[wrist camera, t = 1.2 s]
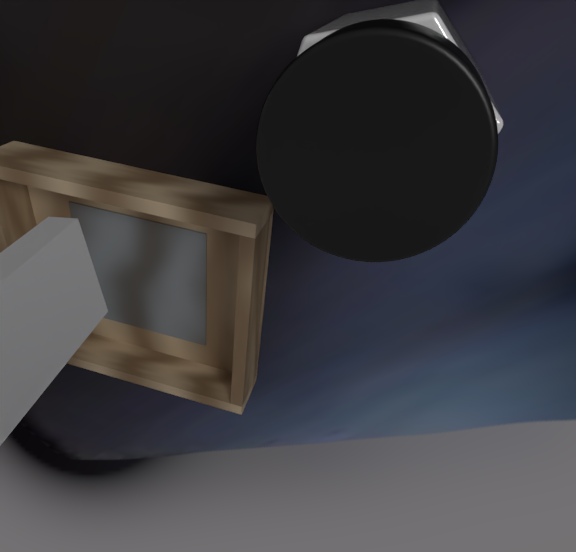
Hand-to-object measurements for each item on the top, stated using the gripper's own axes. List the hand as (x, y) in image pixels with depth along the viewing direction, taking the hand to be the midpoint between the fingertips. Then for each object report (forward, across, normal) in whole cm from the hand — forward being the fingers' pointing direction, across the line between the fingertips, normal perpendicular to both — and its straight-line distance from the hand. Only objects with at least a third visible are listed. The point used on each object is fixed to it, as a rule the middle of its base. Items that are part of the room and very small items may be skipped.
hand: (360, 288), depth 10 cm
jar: (+19, -1, 0) cm, 19 cm away
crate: (+20, +17, +14) cm, 30 cm away
